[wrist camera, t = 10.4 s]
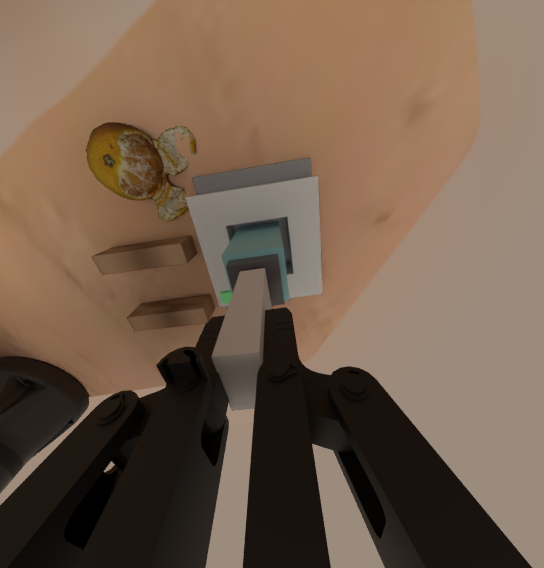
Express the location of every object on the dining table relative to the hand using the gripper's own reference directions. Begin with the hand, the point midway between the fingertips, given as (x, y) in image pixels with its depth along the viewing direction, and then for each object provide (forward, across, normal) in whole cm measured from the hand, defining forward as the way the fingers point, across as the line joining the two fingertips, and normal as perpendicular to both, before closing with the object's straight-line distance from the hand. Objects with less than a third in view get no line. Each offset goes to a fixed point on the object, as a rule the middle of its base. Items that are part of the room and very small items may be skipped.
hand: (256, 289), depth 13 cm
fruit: (+12, -9, +8) cm, 17 cm away
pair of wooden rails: (+11, -12, -3) cm, 17 cm away
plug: (+11, 0, 0) cm, 11 cm away
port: (+11, 0, 0) cm, 11 cm away
